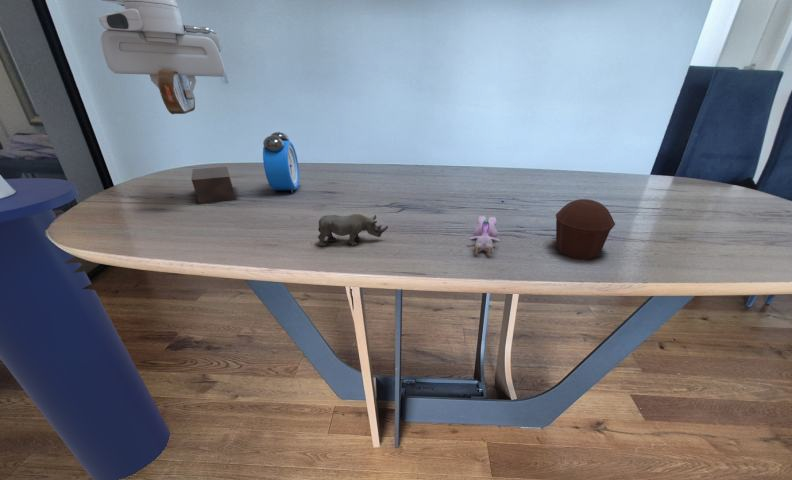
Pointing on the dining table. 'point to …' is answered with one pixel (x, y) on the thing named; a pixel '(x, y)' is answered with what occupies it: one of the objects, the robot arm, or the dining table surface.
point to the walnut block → (212, 184)
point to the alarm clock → (280, 162)
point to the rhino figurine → (347, 227)
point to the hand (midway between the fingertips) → (179, 99)
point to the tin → (175, 92)
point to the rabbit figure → (485, 234)
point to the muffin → (582, 228)
